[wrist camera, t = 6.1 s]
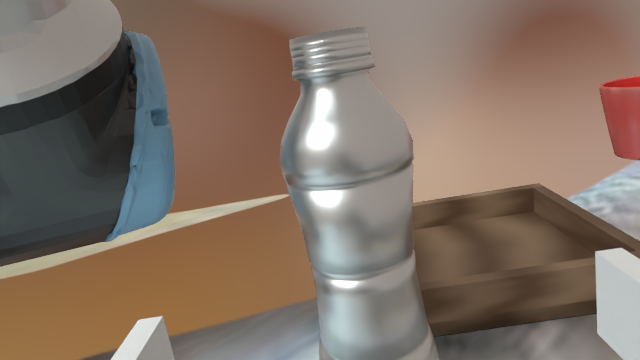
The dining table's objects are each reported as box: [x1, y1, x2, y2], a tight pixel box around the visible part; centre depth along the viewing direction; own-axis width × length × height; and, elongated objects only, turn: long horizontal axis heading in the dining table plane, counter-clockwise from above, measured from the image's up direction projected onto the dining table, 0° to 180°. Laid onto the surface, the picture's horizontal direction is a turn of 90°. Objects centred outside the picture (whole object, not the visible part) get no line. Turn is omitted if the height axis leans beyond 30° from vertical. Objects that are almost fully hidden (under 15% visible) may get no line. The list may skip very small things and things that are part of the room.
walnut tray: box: [412, 184, 640, 337], centre depth 40 cm, size 18×18×4 cm
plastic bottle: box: [280, 27, 440, 360], centre depth 24 cm, size 6×7×20 cm
